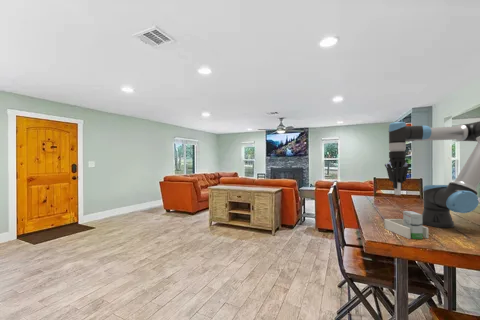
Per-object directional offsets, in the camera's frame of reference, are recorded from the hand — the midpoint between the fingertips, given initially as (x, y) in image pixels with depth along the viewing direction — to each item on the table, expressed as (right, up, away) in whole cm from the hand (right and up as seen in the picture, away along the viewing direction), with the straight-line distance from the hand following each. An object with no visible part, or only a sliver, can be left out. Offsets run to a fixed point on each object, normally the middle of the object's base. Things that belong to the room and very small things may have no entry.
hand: (397, 194), depth 125 cm
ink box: (+1, -20, -10) cm, 22 cm away
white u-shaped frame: (0, -19, -5) cm, 20 cm away
